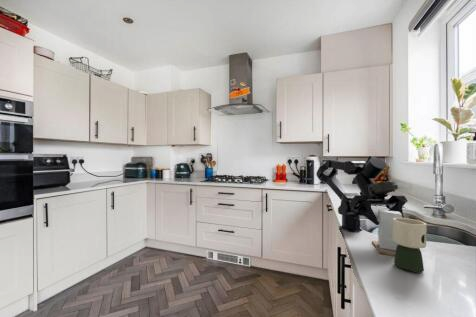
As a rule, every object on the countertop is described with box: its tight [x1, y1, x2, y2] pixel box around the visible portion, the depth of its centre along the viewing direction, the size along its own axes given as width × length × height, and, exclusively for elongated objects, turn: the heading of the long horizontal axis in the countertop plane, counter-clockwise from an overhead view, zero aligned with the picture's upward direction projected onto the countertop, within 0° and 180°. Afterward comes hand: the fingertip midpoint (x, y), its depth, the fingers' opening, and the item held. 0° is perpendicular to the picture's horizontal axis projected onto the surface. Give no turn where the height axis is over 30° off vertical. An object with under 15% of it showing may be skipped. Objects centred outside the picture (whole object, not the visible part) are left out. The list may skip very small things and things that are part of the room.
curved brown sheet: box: [371, 240, 396, 257], centre depth 69 cm, size 10×8×1 cm
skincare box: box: [377, 209, 402, 250], centre depth 69 cm, size 6×4×12 cm
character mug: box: [393, 217, 427, 273], centre depth 57 cm, size 11×7×13 cm, turn 146°
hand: (391, 224), depth 69 cm, fingers open, 9 cm apart
